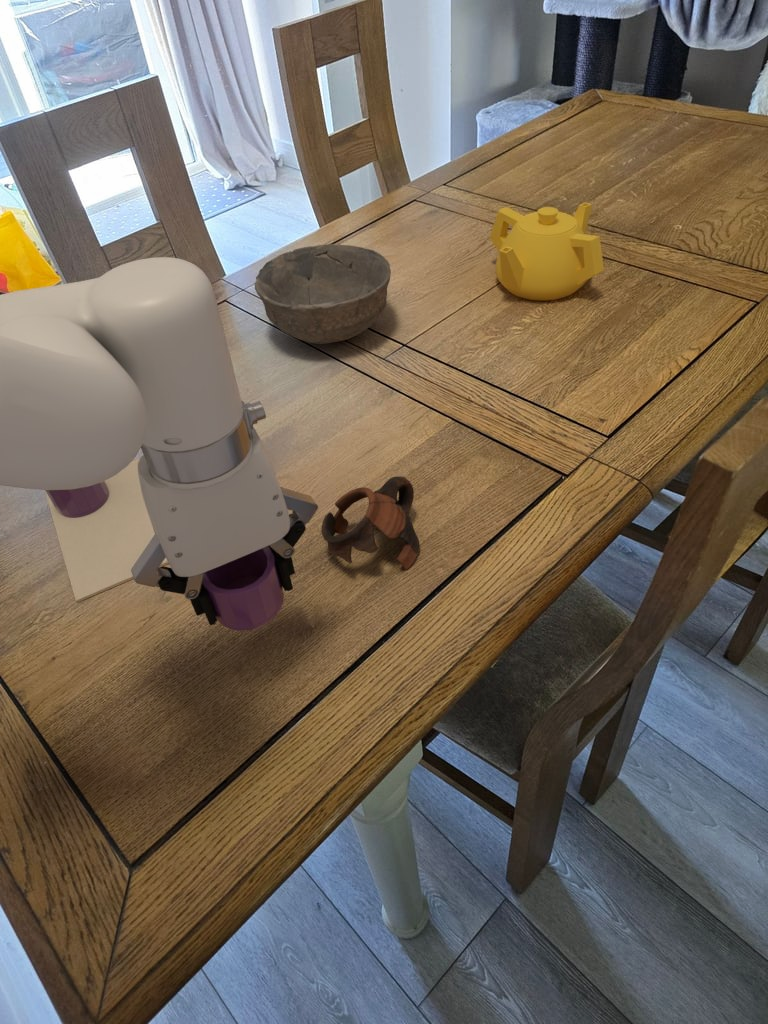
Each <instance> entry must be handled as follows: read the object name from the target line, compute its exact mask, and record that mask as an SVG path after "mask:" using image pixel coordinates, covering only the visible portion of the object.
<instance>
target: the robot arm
mask: <svg viewBox="0 0 768 1024" xmlns="http://www.w3.org/2000/svg"><path fill="white" fill-rule="evenodd" d="M225 333H226V332H225V330H224V326H223V321H222V318H221V313H220V310H219V305H218V302H217V298H216V295H215V291H214V288H213V285H212V283H211V281H210V279H209V278H208V276H207V275H206V274H205V272H204V271H203V270H202V269H201V268H200V267H199V266H197V265H196V264H194V263H193V262H189V261H188V260H185V259H182V258H177V257H171V256H170V257H169V256H167V257H166V256H162V257H161V256H157V257H156V256H155V257H148V258H141V259H136V260H133V261H130V262H126V263H123V264H120V265H117V266H116V267H113V268H111V269H109V270H108V271H106V272H105V273H103V274H102V275H101V276H99V277H96V278H91V279H86V280H79V281H75V282H67V283H61V284H55V285H49V286H43V287H36V288H28V289H27V288H26V289H22V290H21V289H20V290H15V291H11V292H6V293H2V294H0V486H2V487H8V488H9V487H10V488H17V489H18V488H19V489H26V490H39V491H40V490H41V491H45V490H67V489H77V488H82V487H88V486H92V485H95V484H98V483H101V482H104V481H105V480H107V479H109V478H111V477H113V476H115V475H116V474H118V473H119V472H120V471H122V470H123V469H124V468H125V467H127V466H128V465H129V464H130V462H131V461H133V460H135V458H136V457H137V455H138V454H139V451H140V450H141V452H142V454H143V455H142V456H141V457H139V458H140V460H139V462H138V475H139V482H140V487H141V492H142V495H143V499H144V503H145V506H146V509H147V512H148V515H149V518H150V521H151V524H152V526H153V529H154V532H155V535H154V536H153V538H152V539H151V541H150V542H149V544H148V545H147V547H146V548H145V550H144V551H143V553H142V554H141V555H140V557H139V558H138V560H137V561H136V563H135V564H134V566H133V567H132V569H131V572H132V575H133V577H134V579H133V581H134V583H136V584H137V585H142V586H146V587H151V588H159V590H161V591H163V592H168V593H174V594H179V595H184V598H185V599H186V600H189V601H190V603H191V605H192V608H193V610H194V613H195V615H196V617H199V616H201V615H205V617H206V619H207V621H208V624H209V626H210V627H211V626H214V625H216V624H217V622H218V621H217V618H216V616H215V613H214V610H213V608H212V605H211V602H210V600H209V597H208V595H207V593H206V590H205V588H204V587H203V585H202V579H203V575H204V572H206V571H209V570H211V569H214V568H216V567H219V566H221V565H224V564H226V563H229V562H231V561H233V560H236V559H238V558H241V557H243V556H245V555H248V554H250V553H252V552H255V551H257V550H259V549H262V548H264V547H266V546H269V547H270V549H271V551H272V552H273V554H274V557H275V560H276V564H277V568H278V572H279V576H280V580H281V584H282V587H283V591H284V592H286V591H287V592H289V591H292V590H294V587H293V583H292V579H291V576H293V575H295V574H296V571H295V566H294V562H293V559H292V557H293V556H294V555H295V552H296V550H295V548H294V547H295V546H296V544H297V543H298V541H299V540H300V539H301V538H302V536H303V535H304V533H305V532H306V530H307V527H306V525H307V524H309V523H310V522H311V520H312V518H313V517H314V516H315V514H316V512H317V511H318V510H319V505H318V504H317V502H316V501H315V500H314V498H313V497H312V496H311V495H309V494H306V493H302V492H299V491H295V490H292V489H288V488H285V487H282V486H281V485H280V482H279V480H278V477H277V473H276V470H275V469H274V466H273V464H272V462H271V458H270V456H269V454H268V452H267V450H266V448H265V445H264V443H263V441H262V439H261V437H260V435H259V433H258V432H257V430H256V428H255V427H254V425H256V424H258V422H260V421H262V420H265V419H266V418H267V415H266V410H265V408H264V406H263V403H262V402H261V401H260V400H258V401H256V402H252V403H250V402H247V403H245V401H243V400H242V398H241V393H240V390H239V386H238V381H237V377H236V374H235V370H234V366H233V362H232V361H233V360H232V357H231V353H230V350H229V345H228V341H227V338H226V334H225ZM289 511H291V513H290V514H289ZM165 558H166V559H167V561H168V563H169V564H168V565H169V566H162V567H160V568H159V566H160V565H161V563H162V562H163V561H164V559H165Z"/></svg>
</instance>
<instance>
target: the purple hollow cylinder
mask: <svg viewBox="0 0 768 1024" xmlns="http://www.w3.org/2000/svg"><path fill="white" fill-rule="evenodd" d="M202 585H203V587H204V588H205V590H206V593H207V595H208V597H209V600H210V602H211V605H212V608H213V610H214V613H215V616H216V618H217V621H216V622H218V623H219V624H220V625H221V626H223V627H225V628H227V629H230V630H233V631H239V632H240V631H241V632H242V631H252V630H254V629H259V628H260V627H263V626H265V625H266V624H268V623H269V622H271V621H273V619H275V617H276V616H277V615H278V614H279V612H280V611H281V609H282V606H283V605H284V600H285V599H284V598H285V596H284V595H285V594H284V588H283V587H282V584H281V580H280V576H279V572H278V568H277V564H276V560H275V557H274V554H273V552H272V551H271V549H270V547H269V546H266V547H264V548H262V549H259V550H257V551H255V552H252V553H250V554H248V555H245V556H243V557H241V558H238V559H236V560H233V561H231V562H229V563H226V564H224V565H221V566H219V567H216V568H214V569H211V570H209V571H206V572H204V575H203V579H202Z"/></svg>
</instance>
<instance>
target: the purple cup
mask: <svg viewBox="0 0 768 1024" xmlns="http://www.w3.org/2000/svg"><path fill="white" fill-rule="evenodd" d="M44 492H45V493H47V494H48V496H49V498H50V499H51V501H52V503H53V504H54V506H55V508H56V509H57V510H58V512H59V513H60V514H61V515H63V516H65V517H69V518H78V517H83V516H86V515H89V514H91V513H93V512H95V511H97V510H98V509H100V508H101V507H102V506H103V505H104V504H105V503H106V501H107V499H108V497H109V489H108V487H107V485H106V483H105V481H104V482H101V483H98V484H95V485H92V486H88V487H82V488H77V489H67V490H44Z"/></svg>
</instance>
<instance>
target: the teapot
mask: <svg viewBox="0 0 768 1024" xmlns="http://www.w3.org/2000/svg"><path fill="white" fill-rule="evenodd" d="M592 208H593V204H592V203H589V202H583V203H581V204H578V207H577V209H576V211H575V212H574V214H573V215H571V214H569V213H566V212H562V211H559V209H558V208H556V207H553V206H544V207H541V208H539V209H538V210H537V211H533V212H530V213H526V214H525V215H523V214H521V213H519V212H517V211H515V210H513V209H511V208H509V207H508V206H505V207H502V208H501V209H499V210H498V211H497V213H496V217H495V219H494V222H493V224H492V228H491V231H490V234H489V239H490V241H491V242H492V244H493V245H494V246H495V248H496V250H497V252H498V254H497V259H496V262H495V275H496V279H497V280H498V282H500V284H501V285H502V286H503V287H504V288H505V289H506V291H507V292H509V293H511V294H512V295H514V296H516V297H519V298H520V299H525V300H529V301H540V302H544V301H554V300H559V299H560V300H561V299H563V298H567V297H568V296H571V295H573V294H575V292H577V291H578V290H579V289H581V288H582V287H583V286H584V285H585V284H586V283H587V282H588V280H591V278H594V277H595V276H596V275H598V274H599V273H601V272H603V271H604V270H605V267H604V259H603V252H602V242H601V236H600V235H593V234H587V230H588V226H589V223H590V222H589V221H590V217H591V212H592ZM510 226H511V227H512V228H511V229H510V230H509V227H510ZM508 230H509V232H508Z"/></svg>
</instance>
